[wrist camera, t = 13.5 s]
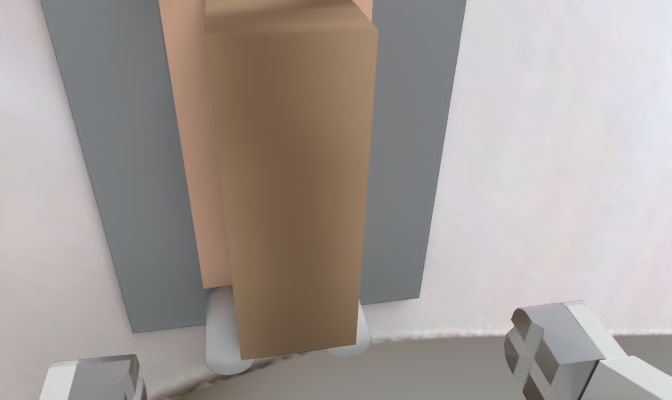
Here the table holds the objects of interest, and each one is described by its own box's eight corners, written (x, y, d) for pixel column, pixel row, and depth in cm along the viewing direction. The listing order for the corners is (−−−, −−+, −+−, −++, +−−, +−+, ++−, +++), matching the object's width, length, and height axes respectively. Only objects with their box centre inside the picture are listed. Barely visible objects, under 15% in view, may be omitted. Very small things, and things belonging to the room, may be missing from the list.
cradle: (481, -183, 17) (558, -190, 13) (413, 284, 28) (443, 351, 24) (-5, -204, 14) (-79, -219, 11) (135, 317, 25) (122, 398, 22)
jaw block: (331, -25, 17) (378, 30, 12) (325, 239, 23) (355, 344, 19) (206, -23, 17) (203, 35, 12) (234, 248, 23) (241, 360, 18)
